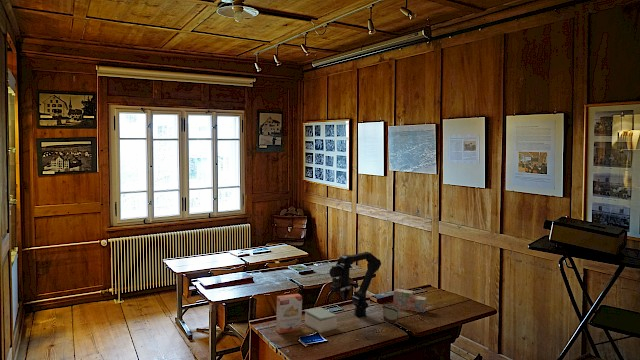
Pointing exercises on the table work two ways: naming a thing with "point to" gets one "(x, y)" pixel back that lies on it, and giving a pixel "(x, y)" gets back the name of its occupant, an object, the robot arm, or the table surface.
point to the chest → (320, 323)
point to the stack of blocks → (409, 300)
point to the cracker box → (289, 313)
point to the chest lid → (320, 313)
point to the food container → (390, 313)
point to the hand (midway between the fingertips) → (343, 300)
